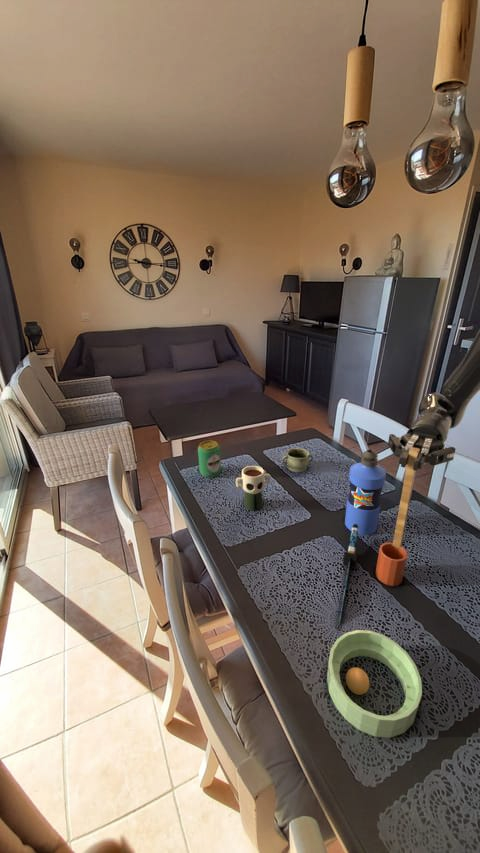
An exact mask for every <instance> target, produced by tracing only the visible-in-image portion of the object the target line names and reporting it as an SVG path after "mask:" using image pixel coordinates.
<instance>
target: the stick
mask: <svg viewBox="0 0 480 853" xmlns="http://www.w3.org/2000/svg"><path fill="white" fill-rule="evenodd" d="M419 452H420V449H418V448H414V447H411V448H410V450H409V457H408V463H407V465H406V467H405V473H404V478H403V479H404V480H403V484H402V489H401V490H402V491H401V497H400V501H399V507H398V513H397V517H396V524H395V528H394V529H395V530H394V534H393V540H392V543H393V546H394V547H397V548H400V547H401V546H402V545H403V540H404V535H405V530H406V525H407V519H408V513H409V508H410V504H411V498H412V493H413V488H414V482H415V478H416V472H417V471H415V470H413V467H414V462H415V459H416V457H417V456H418V454H419Z"/></svg>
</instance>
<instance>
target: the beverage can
mask: <svg viewBox="0 0 480 853" xmlns="http://www.w3.org/2000/svg"><path fill="white" fill-rule="evenodd" d="M197 455H198V466H199V473H200V474H202V475H201V476H202V477H203V476H204V477H203V478H206V477H209V478H208V479H212V478H211V477H213V478H217V477H218V476H219V475H220V473H221V471H222V464H221V448H220V445H219V444H218V442H217V441H215V440H205V441H202V442H200V443H199V445H198V447H197Z"/></svg>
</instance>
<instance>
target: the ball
mask: <svg viewBox="0 0 480 853" xmlns="http://www.w3.org/2000/svg"><path fill="white" fill-rule="evenodd" d="M345 684H346V686H347V689H349V691H351V693H352V694H355V695H358V696H361V695H364V694H366V693H367V692H368V690H369V688H370V678H369V677H368V674H367V672H365V670H363V669H362V668H361V667H357V666H356V667H351V668H350V669H348V671H347V672H346V675H345Z"/></svg>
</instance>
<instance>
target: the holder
mask: <svg viewBox="0 0 480 853" xmlns="http://www.w3.org/2000/svg"><path fill="white" fill-rule="evenodd" d="M407 560H408V552H407V550H406V548H404V547H403V546H402V545H401V547H400V548H397V547H394V546H393V542H390V541H389V542H383V543H382V544H381V545H380V546H379V549H378V556H377V561H376V562H377V563H376V566H375V567H376V568H375V576H376V578H377V579H378V580H379V581H380V582H381V583H383V584H384V585H386V586H390V587H396V586H399V585H401V584H402V582H403V579H404V573H405V568H406V563H407Z"/></svg>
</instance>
